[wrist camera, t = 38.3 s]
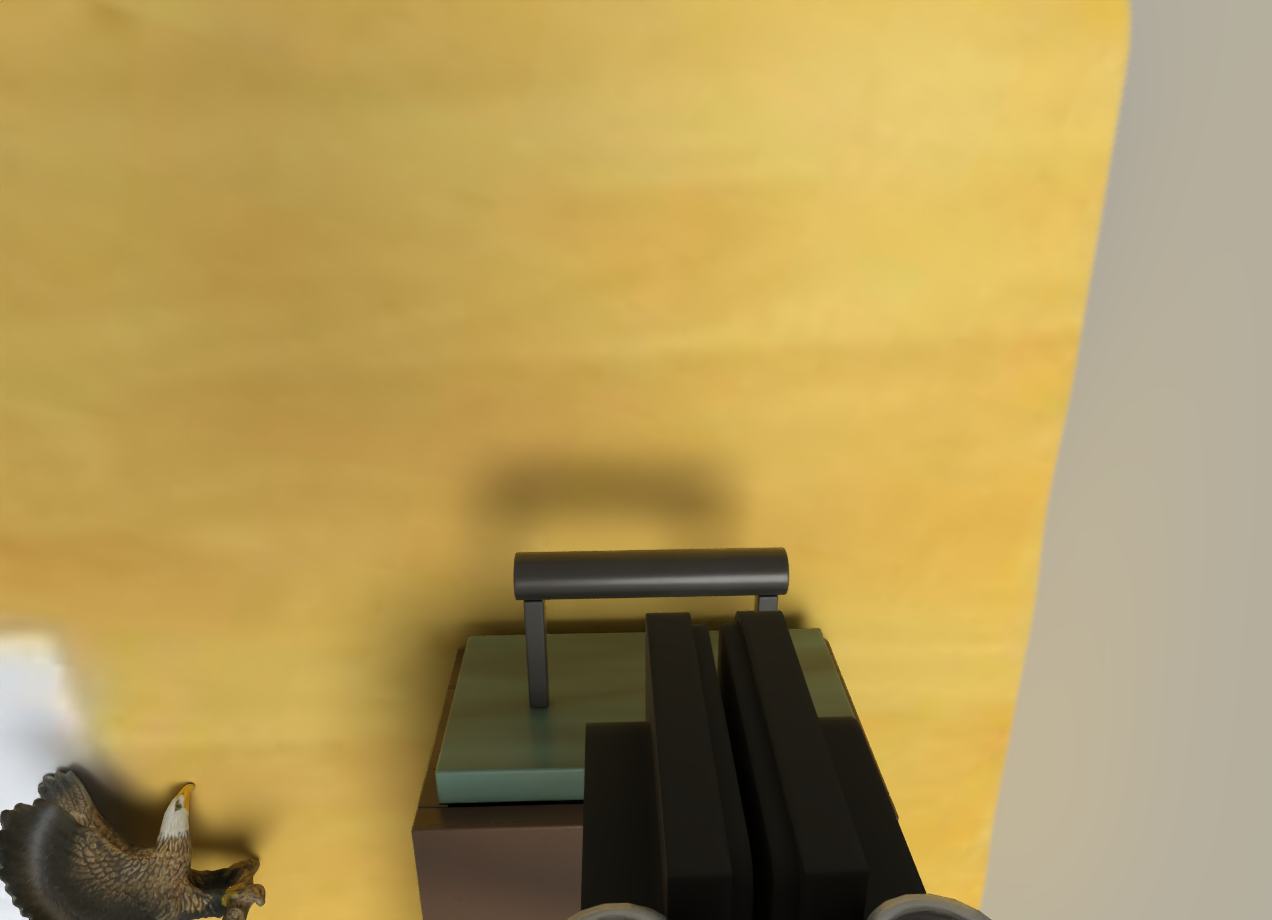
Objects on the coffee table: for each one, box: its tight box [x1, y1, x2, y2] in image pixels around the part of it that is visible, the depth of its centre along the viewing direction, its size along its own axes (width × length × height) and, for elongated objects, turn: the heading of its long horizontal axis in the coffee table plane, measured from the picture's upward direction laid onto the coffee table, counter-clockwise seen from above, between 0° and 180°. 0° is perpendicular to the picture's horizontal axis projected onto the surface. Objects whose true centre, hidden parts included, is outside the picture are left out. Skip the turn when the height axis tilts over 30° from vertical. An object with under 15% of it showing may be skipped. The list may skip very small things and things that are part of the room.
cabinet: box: [411, 641, 899, 920], centre depth 33 cm, size 16×14×9 cm
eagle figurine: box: [0, 770, 265, 920], centre depth 33 cm, size 8×7×9 cm
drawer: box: [435, 547, 856, 806], centre depth 31 cm, size 20×13×7 cm, turn 0°
